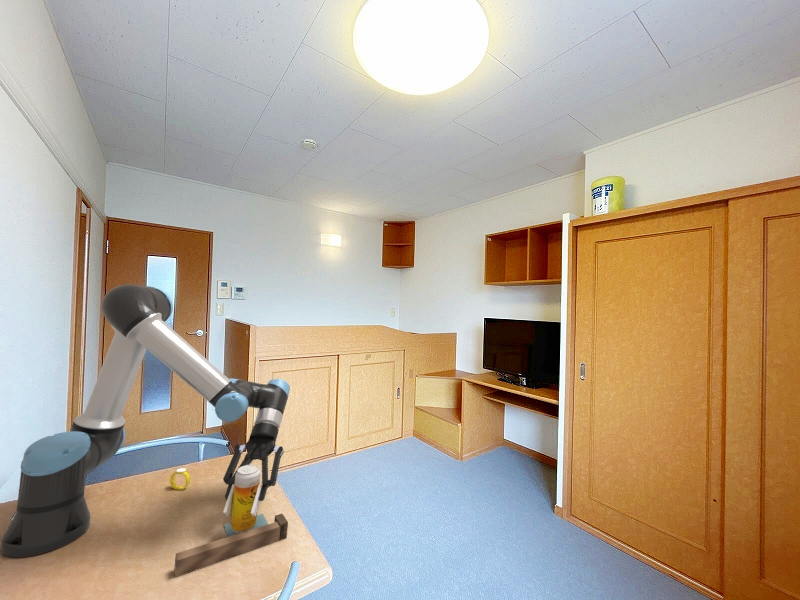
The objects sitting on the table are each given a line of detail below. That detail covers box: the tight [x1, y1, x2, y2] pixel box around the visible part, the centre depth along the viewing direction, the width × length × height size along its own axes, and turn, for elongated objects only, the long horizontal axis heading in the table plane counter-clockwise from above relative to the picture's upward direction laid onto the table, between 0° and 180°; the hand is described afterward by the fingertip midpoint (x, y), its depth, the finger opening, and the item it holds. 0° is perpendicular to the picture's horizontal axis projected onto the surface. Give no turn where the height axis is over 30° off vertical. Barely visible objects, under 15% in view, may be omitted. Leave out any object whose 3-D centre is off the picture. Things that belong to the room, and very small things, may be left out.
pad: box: [223, 513, 269, 537], centre depth 90 cm, size 10×9×1 cm
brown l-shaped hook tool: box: [173, 513, 289, 578], centre depth 82 cm, size 24×4×4 cm, turn 128°
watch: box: [169, 467, 191, 491], centre depth 108 cm, size 6×3×6 cm, turn 83°
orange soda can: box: [230, 464, 261, 533], centre depth 89 cm, size 6×6×15 cm
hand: (239, 514), depth 85 cm, fingers closed on orange soda can, 6 cm apart
